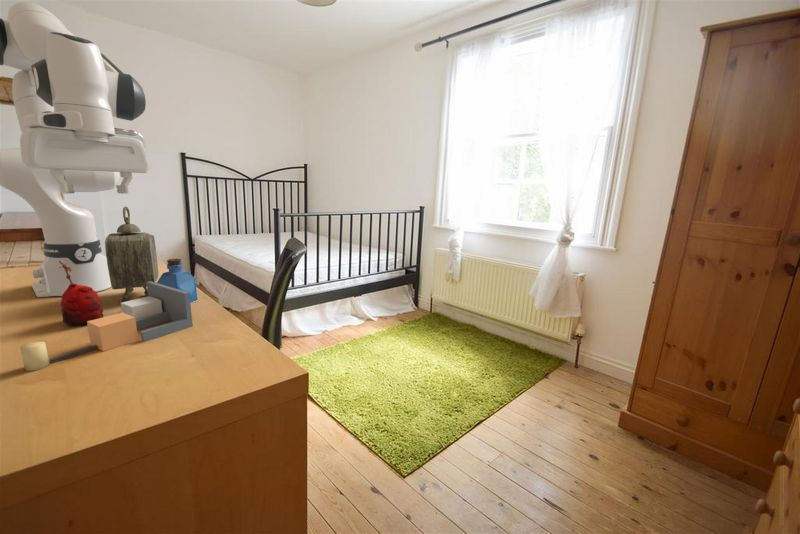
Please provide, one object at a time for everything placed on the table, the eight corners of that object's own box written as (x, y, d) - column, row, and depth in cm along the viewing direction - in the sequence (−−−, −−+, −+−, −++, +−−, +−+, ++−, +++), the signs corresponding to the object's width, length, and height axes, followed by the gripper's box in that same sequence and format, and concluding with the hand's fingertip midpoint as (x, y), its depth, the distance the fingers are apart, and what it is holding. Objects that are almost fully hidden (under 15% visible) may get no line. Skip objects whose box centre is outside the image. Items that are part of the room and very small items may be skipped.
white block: (123, 323, 81) (120, 302, 80) (152, 315, 86) (149, 296, 85) (134, 328, 78) (131, 307, 77) (163, 320, 83) (161, 300, 82)
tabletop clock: (124, 291, 103) (111, 204, 97) (161, 288, 107) (150, 205, 101) (113, 306, 90) (98, 208, 85) (156, 302, 95) (144, 208, 89)
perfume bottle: (179, 308, 91) (174, 263, 89) (159, 305, 92) (153, 261, 90) (197, 300, 97) (193, 258, 94) (178, 298, 98) (173, 256, 96)
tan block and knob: (20, 366, 61) (14, 339, 60) (125, 334, 75) (122, 312, 74) (31, 374, 59) (25, 346, 58) (138, 340, 72) (135, 317, 71)
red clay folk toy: (112, 318, 83) (102, 256, 79) (78, 330, 76) (66, 262, 73) (88, 314, 85) (78, 253, 81) (53, 325, 78) (40, 259, 75)
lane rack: (106, 324, 79) (101, 290, 78) (154, 311, 88) (150, 281, 86) (144, 341, 72) (139, 304, 70) (192, 325, 80) (189, 292, 79)
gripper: (136, 132, 82) (143, 192, 85) (9, 115, 64) (25, 192, 67) (150, 131, 79) (158, 194, 82) (22, 113, 61) (38, 194, 64)
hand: (97, 193), depth 74 cm, fingers open, 8 cm apart
